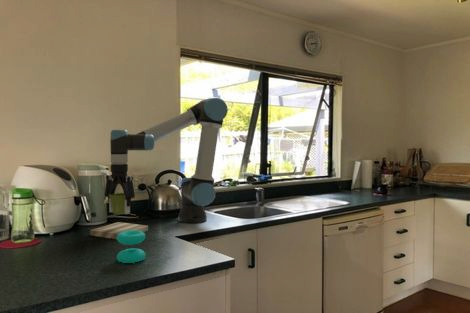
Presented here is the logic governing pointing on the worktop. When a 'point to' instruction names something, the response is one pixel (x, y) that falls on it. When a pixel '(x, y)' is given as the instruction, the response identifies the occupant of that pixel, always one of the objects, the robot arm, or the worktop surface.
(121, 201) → the plant pot
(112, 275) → the worktop surface
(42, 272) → the worktop surface
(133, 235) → the donuts
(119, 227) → the striped wooden cutting board
